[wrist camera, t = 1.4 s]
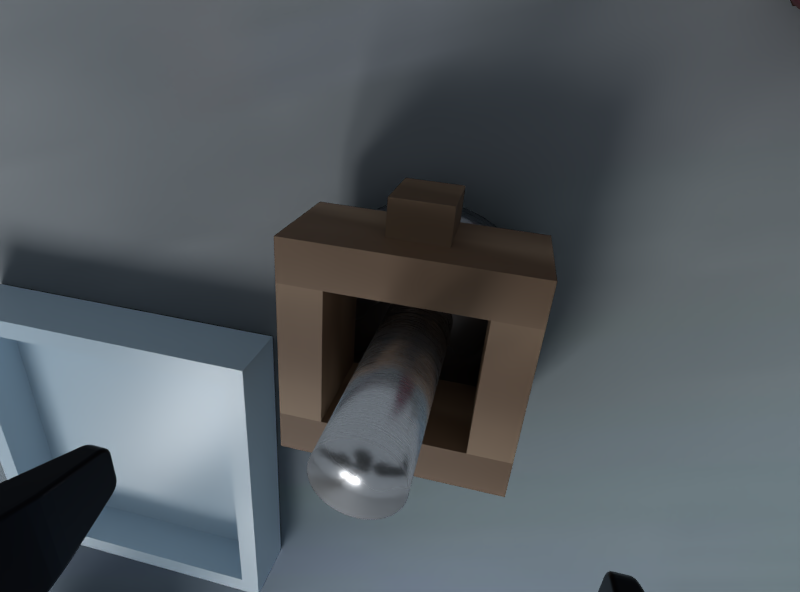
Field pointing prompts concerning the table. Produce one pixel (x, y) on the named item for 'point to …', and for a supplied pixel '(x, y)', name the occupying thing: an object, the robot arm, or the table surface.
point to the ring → (422, 288)
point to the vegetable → (796, 3)
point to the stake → (391, 401)
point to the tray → (150, 428)
